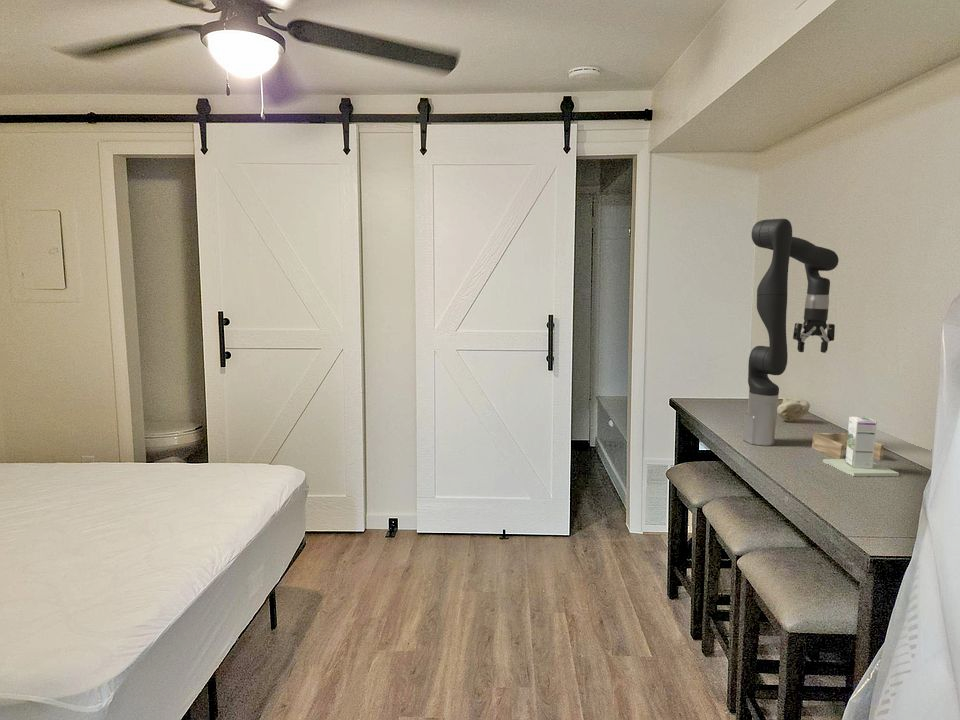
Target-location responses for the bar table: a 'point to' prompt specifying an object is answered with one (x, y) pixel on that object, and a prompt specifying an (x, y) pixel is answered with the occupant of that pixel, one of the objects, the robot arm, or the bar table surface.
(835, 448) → the u-shaped pine frame
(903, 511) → the bar table surface
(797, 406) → the decorative item
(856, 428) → the syrup box
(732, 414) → the bar table surface
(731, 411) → the bar table surface
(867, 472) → the sage mat
